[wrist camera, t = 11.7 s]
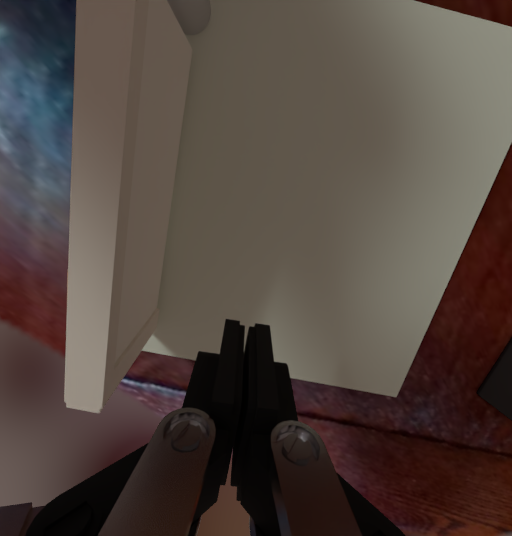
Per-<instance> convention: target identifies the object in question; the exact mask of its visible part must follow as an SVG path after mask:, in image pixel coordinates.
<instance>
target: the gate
mask: <svg viewBox="0 0 512 536" xmlns="http://www.w3.org/2000/svg"><path fill="white" fill-rule="evenodd" d="M191 57H192V48H191V46H190V44H189V42H188V40H187V38H186V36H185V34H184V32H183V30H182V28H181V26H180V25H179V23H178V21H177V19H176V17H175V15H174V13H173V11H172V9H171V7H170V5H169V3H168V1H167V0H77V1H76V33H75V66H74V99H73V131H72V164H71V197H70V229H69V262H68V295H67V327H66V360H65V393H64V395H65V396H64V402H66V407H68V408H74V409H79V410H84V411H89V412H95V413H100V412H101V410H102V409H103V407H104V406H105V404H106V403H107V401H108V400H109V398H110V397H111V395H112V394H113V392H114V391H115V389H116V388H117V386H118V385H119V383H120V382H121V380H122V379H123V377H124V376H125V374H126V373H127V371H128V370H129V368H130V367H131V365H132V364H133V362H134V361H135V359H136V358H137V356H138V355H139V353H140V352H141V350H142V349H143V347H144V346H145V344H146V343H147V341H148V340H149V338H150V337H151V335H152V334H153V332H154V331H155V329H156V328H157V323H158V316H159V309H158V308H157V304H158V296H159V289H160V282H161V275H162V267H163V260H164V253H165V246H166V238H167V231H168V224H169V217H170V209H171V202H172V195H173V188H174V180H175V173H176V166H177V158H178V151H179V144H180V137H181V129H182V122H183V115H184V108H185V100H186V93H187V86H188V79H189V71H190V64H191Z"/></svg>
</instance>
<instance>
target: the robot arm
mask: <svg viewBox="0 0 512 536" xmlns="http://www.w3.org/2000/svg"><path fill="white" fill-rule="evenodd" d="M244 337H245V325H240V321H238V320H231V319H226V320H225V326H224V332H223V337H222V343H221V349H220V354H217V353H210V352H202V351H199V352H198V354H197V358H196V361H195V365H194V368H193V372H192V375H191V378H190V382H189V385H188V389H187V392H186V396H185V399H184V403H183V406H182V408H181V409H177V410H175V411H172V412H171V413H169V414H168V415H167V416H165V417H164V418H163V420H162V421H161V422H160V423H159V425H158V427H157V429H156V431H155V433H154V434H153V436H152V438H151V440H150V442H149V443H147V444H146V445H144V446H142V447H141V448H139V449H137V450H136V451H134V452H132V453H130V454H129V455H127V456H125V457H124V458H122V459H120V460H118V461H117V462H115V463H114V464H112V465H110V466H109V467H107V468H105V469H103V470H102V471H100V472H98V473H96V474H95V475H93V476H91V477H90V478H88V479H86V480H84V481H83V482H81V483H80V484H78V485H76V486H74V487H73V488H71V489H69V490H68V491H66V492H64V493H62V494H61V495H59V496H58V497H56V498H55V499H54V500H52V501H51V502H49V503H48V504H47V505H46V506H40V507H34V508H33V507H32V503H24V504H17V505H10V506H3V507H0V536H196V535H197V532H198V528H199V524H200V520H201V515H202V514H203V513H204V512H205V511H207V510H208V509H209V508H210V507H211V506H212V505H213V504H214V503H215V502H216V501H217V498H218V493H219V488H220V485H225V483H226V479H227V474H228V469H229V464H230V459H231V454H232V449H233V455H232V471H231V486H236V487H237V500H238V501H241V505H242V506H243V507H244V509H245V510H246V511H247V513H248V514H249V515H250V520H249V527H250V535H251V536H405V535H404V534H403V532H402V531H401V530H400V529H399V528H398V527H396V526H395V525H394V524H393V523H392V522H391V521H390V520H389V519H388V518H386V517H385V516H384V515H383V514H382V513H381V512H380V511H379V510H378V509H376V508H375V507H374V506H373V505H372V504H371V503H370V502H369V501H368V500H366V499H365V498H364V497H363V496H362V495H361V494H360V493H359V492H358V491H356V490H355V489H354V488H353V487H352V486H351V485H350V484H349V483H348V482H346V481H345V480H344V479H343V478H342V477H341V476H340V475H339V474H338V473H336V471H335V469H334V466H333V464H332V461H331V459H330V457H329V454H328V452H327V449H326V447H325V444H324V442H323V441H322V439H321V437H320V436H319V435H318V434H317V432H316V431H315V430H314V429H312V428H311V427H309V426H308V425H306V424H304V423H301V422H299V421H298V418H297V412H296V407H295V401H294V396H293V390H292V385H291V379H290V374H289V368H288V365H287V363H281V362H274V357H273V348H272V339H271V331H270V325H264V324H258V323H255V326H254V327H252V326H249V329H248V334H247V339H246V344H245V350H244Z"/></svg>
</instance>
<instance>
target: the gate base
mask: <svg viewBox="0 0 512 536" xmlns="http://www.w3.org/2000/svg"><path fill="white" fill-rule="evenodd" d="M167 1H168V3H169V5H170V7H171V9H172V11H173V13H174V15H175V17H176V19H177V21H178V23H179V25H180V26H181V28H182V30H183V32H184V34H185V36H186V38H187V40H188V42H189V44H190V46H191V48H192V57H191V64H190V71H189V79H188V86H187V93H186V100H185V108H184V115H183V122H182V129H181V137H180V144H179V151H178V158H177V166H176V173H175V180H174V188H173V195H172V202H171V209H170V217H169V224H168V231H167V238H166V246H165V253H164V260H163V267H162V275H161V282H160V289H159V296H158V304H157V308H158V309H159V316H158V323H157V328H156V329H155V331H154V332H153V334H152V335H151V337H150V338H149V340H148V341H147V343H146V344H145V346H144V347H143V349H142V351H147V352H153V353H158V354H164V355H169V356H175V357H180V358H185V359H191V360H196V358H197V354H198V352H199V351H202V352H210V353H217V354H220V349H221V343H222V337H223V332H224V326H225V320H226V319H231V320H238V321H240V325H245V337H244V350H245V344H246V339H247V334H248V329H249V326H252V327H254V326H255V323H258V324H264V325H270V331H271V339H272V348H273V357H274V362H281V363H287V365H288V368H289V374H290V378H294V379H299V380H305V381H310V382H316V383H321V384H327V385H332V386H338V387H343V388H348V389H354V390H359V391H365V392H370V393H376V394H381V395H386V396H392V397H397V395H398V393H399V391H400V388H401V386H402V384H403V382H404V379H405V377H406V375H407V373H408V371H409V368H410V366H411V364H412V362H413V360H414V357H415V355H416V353H417V351H418V348H419V346H420V344H421V342H422V340H423V337H424V335H425V333H426V331H427V329H428V326H429V324H430V322H431V320H432V317H433V315H434V313H435V311H436V309H437V306H438V304H439V302H440V300H441V298H442V295H443V293H444V291H445V289H446V286H447V284H448V282H449V280H450V278H451V275H452V273H453V271H454V269H455V267H456V264H457V262H458V260H459V258H460V255H461V253H462V251H463V249H464V247H465V244H466V242H467V240H468V238H469V236H470V233H471V231H472V229H473V227H474V224H475V222H476V220H477V218H478V216H479V213H480V211H481V209H482V207H483V205H484V202H485V200H486V198H487V196H488V193H489V191H490V189H491V187H492V185H493V182H494V180H495V178H496V176H497V174H498V171H499V169H500V167H501V165H502V162H503V160H504V158H505V156H506V154H507V151H508V149H509V147H510V145H511V143H512V27H510V26H506V25H502V24H498V23H495V22H491V21H487V20H484V19H480V18H476V17H473V16H469V15H465V14H462V13H458V12H454V11H451V10H447V9H443V8H439V7H436V6H432V5H428V4H425V3H421V2H417V1H414V0H167ZM67 295H68V271H67Z"/></svg>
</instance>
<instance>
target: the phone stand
mask: <svg viewBox="0 0 512 536" xmlns="http://www.w3.org/2000/svg"><path fill="white" fill-rule="evenodd" d="M477 394H478V395H479V396H480V397H482V398H483V399H484V400H486V401H487V402H488V403H490V404H491V405H492V406H493V407H495V408H496V409H497V410H499V411H500V412H501V413H503V414H504V415H505V416H507V417H508V418H509V419H510V420H512V338H511V340H510V341H509V343H508V344H507V346H506V347H505V349H504V351H503V352H502V354H501V355H500V357H499V358H498V360H497V362H496V363H495V365H494V366H493V368H492V369H491V371H490V373H489V374H488V376H487V377H486V379H485V380H484V382H483V383H482V385H481V387H480V388H479V390H478V391H477Z"/></svg>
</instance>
